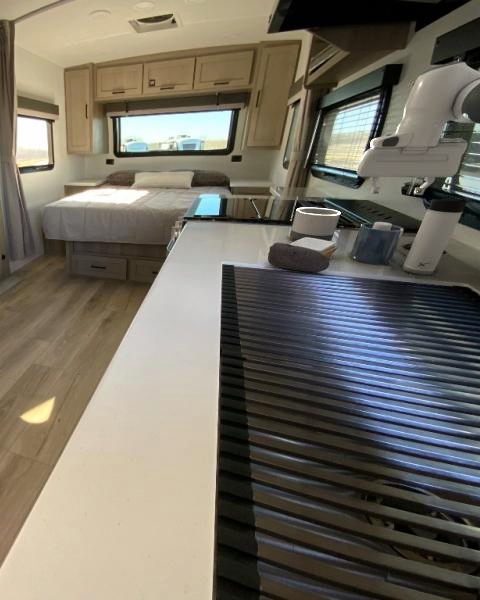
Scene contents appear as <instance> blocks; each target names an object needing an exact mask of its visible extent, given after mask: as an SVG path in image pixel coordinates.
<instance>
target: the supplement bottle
mask: <svg viewBox="0 0 480 600" xmlns="http://www.w3.org/2000/svg"><path fill="white" fill-rule="evenodd" d="M373 223H374V226H373V228H372V229H377V230H387V231H391V230H390V229H391V226H392V225H393V224H392V223H390V222H387V221H385V222H384V221H375V222H373Z"/></svg>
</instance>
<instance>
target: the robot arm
mask: <svg viewBox="0 0 480 600" xmlns="http://www.w3.org/2000/svg"><path fill="white" fill-rule="evenodd" d="M448 122H455V123H459V124H479V125H480V71H479V70H476V69H473V68H472V67H470V66H468V65H467V63H466V62H465V61H455V62H450V63H446V64H442V65H438V66H436V67H431V68H429V69H427V70H425V71H424V72H422V73H421V74H420V75H418V77H417V79H416V80H415V82H414V84H413V86H412V88H411V90H410V92H409V95H408V97H407V100H406V103H405V105H404V109H403V117H402V119H401V121H400V122H399V124H398V126H397V129H396V131H395V132H393V133H388V134H386V135H383V136H379V137H375V138H373V139H372V140H371V141H370V148H368V149H367V150H366V151H365V152H364V154H363V156H362V157H361V159H360V161H359V164H358V166H357V169H356V174H357V175H358V176H359V177H365V178H366V177H369V182H370V185H371V190H370V194H371V195H372V194H373V195H378V194H379V193H380V191H381V186H377V182H378V181H379V179H380V178H424V179H423V181H425V182H424V183H422V184H421V185H420V186H417V187H415V188H414V191H413V195H414V196H422V195H424V192H425V190H426V189H427V188H428V187H430V186H431V185H432V184H433V183H434V182H435V180H436V178H452V177H454V175H456V174H457V172H458V171H459V168H460V164H461V160H462V156H463V155H464V153H465V152H466V150H467V148H468V142H467V140H465V139H463V138H462V137H454V138H449V137H447V138H446V137H444V138H442V137H441V136H442V135H443V132H444V129H445V126H446V124H447V123H448Z"/></svg>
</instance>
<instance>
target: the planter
mask: <svg viewBox="0 0 480 600" xmlns="http://www.w3.org/2000/svg"><path fill="white" fill-rule="evenodd" d="M341 213H342V212H340V211H338V210H335V209H329V208H321V207H299V208H297V209H296V210H295V214H294V217H293V221H292V225H291V229H290V233H289V236H290V237H291V238H292V239H294V240H295V241H297V240H300V239H302V238H305V237H309V238H315V239H320V240H326V241H331V242H332V240H333V238H334V236H335V231H336V229H337V226H338V223H339V220H340V216H341Z"/></svg>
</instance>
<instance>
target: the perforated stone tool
mask: <svg viewBox="0 0 480 600" xmlns="http://www.w3.org/2000/svg"><path fill="white" fill-rule="evenodd" d="M290 244H291V243H285V242H275V243H273V244H272V245H270V246H269V250H268V253H267V261H268V264H270V265H271V266H273V267H277V268H281V269H286V270H292V271H296V272H297V271H298V272H306V273H320V272H323V271H326V270H327V269H328V268H329V267H330V263H331V262H330V259H329V258H327V257H326V256H325V255H323V254H322V253H320V252H318V251H315V250H312V249H309V248H305V247H301V246H294V245H290Z"/></svg>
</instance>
